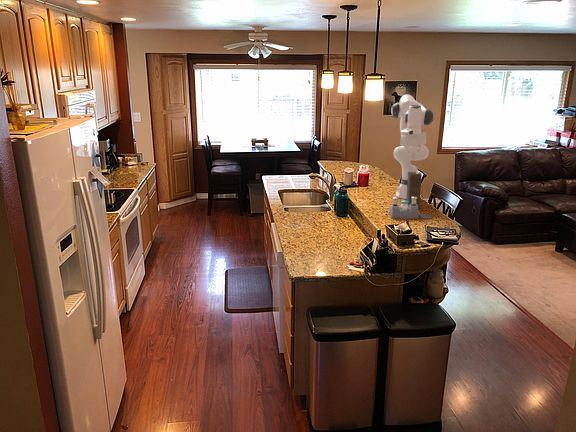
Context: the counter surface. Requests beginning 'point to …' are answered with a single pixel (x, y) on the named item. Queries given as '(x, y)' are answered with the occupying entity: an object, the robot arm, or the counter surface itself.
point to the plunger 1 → (395, 201)
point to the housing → (404, 212)
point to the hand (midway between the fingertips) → (412, 152)
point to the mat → (425, 217)
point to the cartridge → (404, 205)
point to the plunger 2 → (413, 201)
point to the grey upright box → (414, 187)
